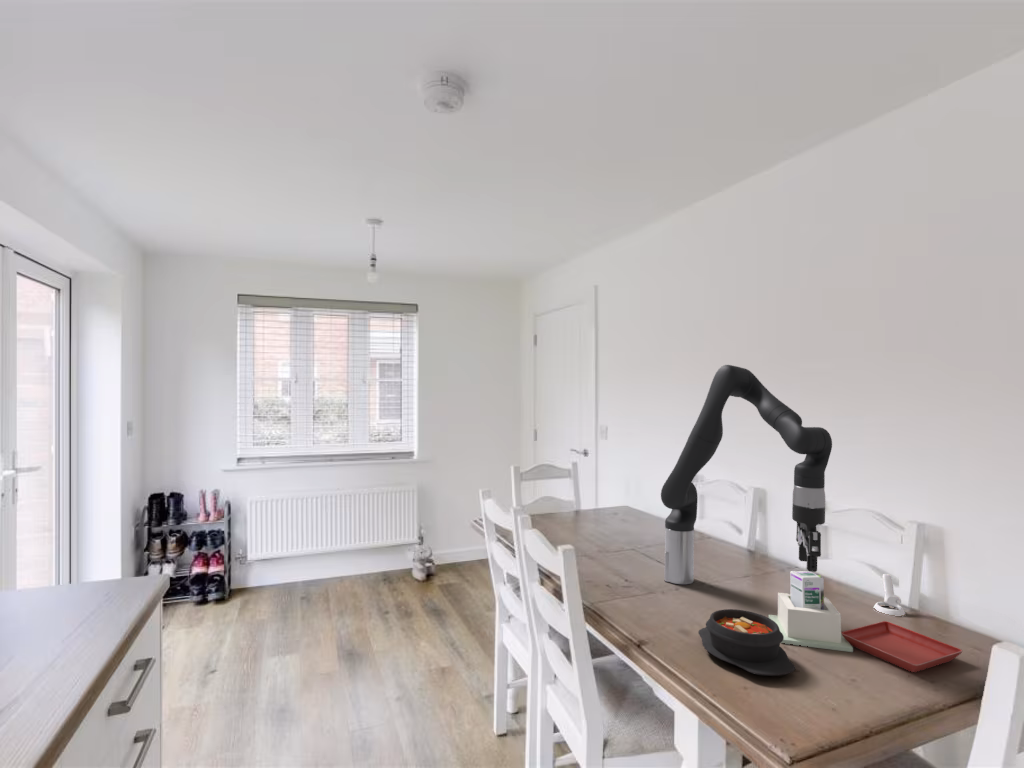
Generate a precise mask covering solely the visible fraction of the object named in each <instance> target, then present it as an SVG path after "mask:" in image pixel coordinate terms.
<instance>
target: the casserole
mask: <svg viewBox="0 0 1024 768" xmlns="http://www.w3.org/2000/svg"><path fill="white" fill-rule="evenodd" d="M698 635H699V636H700V638H701V643H702V647H704V649H705V650H706V651H707V652H708V653H709V654H711V655H712V656H714V657H715V658H717V659H718V660H721V661H722V662H723V661H724V662H726V663H727V664H731V665H733V666H736V667H738V668H740V669H742V670H744V671H746V672H748V673H750V674H754V675H757V676H769V677H774V676H775V677H776V676H785V675H788V674H791V673H793V672H795V671H796V665H794V664H793V662H792V661H791V660H790V658H789V656H788V655H787V652H786V651H785V650H784V649H783V648H782V647H781V644H782V643H781V642H782V641H783V639H784V636H783V634H782V633H781V632H780V630H779V627H778V625H777V624H776V623H775V622H774V621H773V620H771V619H770V618H768V616H765V615H763V614H760V613H756V612H755V611H754V612H753V611H748V610H743V609H731V608H730V609H727V608H726V609H719V610H716V611H714V612H712V613H711V614H710V617H709V619H708V620H706V622H705V627H702V628H700V629H699V630H698Z"/></svg>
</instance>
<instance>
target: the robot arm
mask: <svg viewBox="0 0 1024 768" xmlns="http://www.w3.org/2000/svg"><path fill="white" fill-rule="evenodd" d="M729 397H735V398H741V399H744V400H745V401H747V402H749V403H751V404H752V405H753V406H754V407H756V410H757V412H758V413H759V416H760V417H761V418H762V420H763V421H764V422H765V423H767V425H769V426H770V427H771V428H772V429H774V431H776V432H777V433H779V435H780V437H781V438H782V440H783V442H784V443H785V444H786V446H787V447H788V448H789V449H790V450H791V451H793V452H794V453H796V454H799V455H805V457H804V460H803V461H801V462H799V463H797V464H796V465H794V470H793V490H792V506H791V507H792V511H791V512H792V513H791V514H792V515H791V516H792V517H791V518H792V520H793V521H794V522H796V537H795V540H796V542H797V546H798V560H799V561H800V562H806V571H812V572H815V573H817V571H818V558H819V557H821V555H822V550H821V547H822V543H821V541H822V534H821V532H819V531H818V529H817V526H818V525H819V526H821V525H824V524H825V523H826V492H825V485H826V484H825V483H826V482H825V478H826V475H825V473H826V470H827V466H828V463H829V459H830V456H831V452H832V448H833V439H832V437H831V434H830V432H828V430H827V429H825V428H824V427H821V426H820V427H819V426H811V427H810V426H809V427H808V426H803V419H802V417H801V416H800V415H799V414H798V413H797V412H796V411H794V410H793V409H792V408H790V407H789V406H788V405H786V404H785V403H784V402H782V401H781V400H780V399H778V398H777V397H776V396H775V395H774V394H773V393H771V392H770V390H768V388H767V387H766V386H765V385H763V383H762V382H761V381H760V380H759V378H757V376H756V375H755V374H754V373H753V372H752V371H750V370H749V369H747V368H745V367H741V366H736V365H731V364H724V365H722V366H721V367H719V368H718V370H717V371H716V372H715V374H714V376H713V379H712V381H711V384H710V386H709V390H708V392H707V395H706V398H705V400H704V403H703V405H702V408H701V411H700V412H699V415H698V417H697V419H696V421H695V424H694V425H693V427H692V430H691V431H690V434H689V435H688V438H687V439H686V443H685V445H684V447H683V449H682V451H681V453H680V455H679V457H678V459H677V462H676V464H675V466H674V467H673V469H672V471H671V472H670V473H669V476H668V477H667V479H666V480H665V482H664V484H663V485H662V488H661V489H660V490H661V492H660V500H661V502H662V504H663V506H664V507H666V508H667V509H670V510H671V511H670V514H669V515H668V516H667V517H666V518H665V521H664V531H665V532H664V581H665V582H666V583H667V582H668V583H671V584H676V585H692V584H693V583H694V579H695V578H694V577H695V576H694V573H695V571H694V570H695V569H694V567H695V566H694V565H695V564H694V560H695V559H694V558H695V555H694V554H695V553H694V550H695V535H694V534H695V523H696V522H697V517H698V516H697V515H698V500H699V499H698V491H697V488H696V486H695V484H694V483H693V480H694V479H695V477H696V476H697V474H698V473H699V472H700V471H701V470H702V468H704V466H706V465H707V463H708V462H709V461H710V460H711V459H712V458H713V456H714V455H715V453H716V451H717V449H718V447H719V446H720V443H721V441H722V439H723V437H724V435H723V434H724V433H723V432H724V428H723V417H722V416H723V411H724V408H725V406H726V403H727V401H728V399H729ZM813 549H814V550H813Z"/></svg>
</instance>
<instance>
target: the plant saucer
mask: <svg viewBox="0 0 1024 768" xmlns="http://www.w3.org/2000/svg"><path fill="white" fill-rule="evenodd" d="M841 634H842V636H843V637H844V638H845V639H846V640H847V641H848V642H849V644H850V645H851V646H852V647H853V648H856V649H858V650H860V651H862V652H864V653H867V654H868V655H869V654H870V655H871V656H874V657H876V658H879V659H881V660H882V661H885V662H887V661H888V663H889V662H890V663H889V664H892V665H894V664H895V665H894V666H896V665H897V667H898V666H899V668H901V667H902V668H901V669H903V668H904V669H903V670H905V669H906V670H905V671H907V670H908V672H910V671H911V672H910V673H913V672H915V673H918V672H921V671H924V670H927V669H930V668H933V667H936V665H937V666H939V664H940V665H942V663H943V664H945V663H949V662H951V661H952V660H955V658H957V657H958V656H959V655H961V654H962V653H963V650H962V649H960V648H959V647H956V646H954V645H950V644H948V643H944V642H942V641H940V640H937V639H935V638H933V637H930V636H927V635H925V634H922V633H919V632H916V631H913V630H911V629H909V628H907V627H906V628H905V627H903V626H900V625H898V624H895V623H892V622H891V621H887V620H883V621H879V622H875V623H871V624H867V625H862V626H859V627H855V628H851V629H848V630H843V631H841ZM926 668H927V669H926ZM920 670H921V671H920ZM917 671H918V672H917Z"/></svg>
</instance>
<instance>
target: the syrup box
mask: <svg viewBox="0 0 1024 768" xmlns="http://www.w3.org/2000/svg"><path fill="white" fill-rule="evenodd" d="M789 573H790V577H789V580H790V581H789V582H790V583H789V584H790V591H789V592H790V593H789V594H790V596H791V602H792V604H793V605H794V607H800V608H809V609H819V610H824V597H825V593H824V592H825V590H824V589H825V588H824V587H825V586H824V584H825V583H824V582H825V580H824V576H822V575H821V574H819V573H817V572H812V571H808V570H801V571H800V570H798V571H797V570H795V571H794V570H791V571H790V572H789Z"/></svg>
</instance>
